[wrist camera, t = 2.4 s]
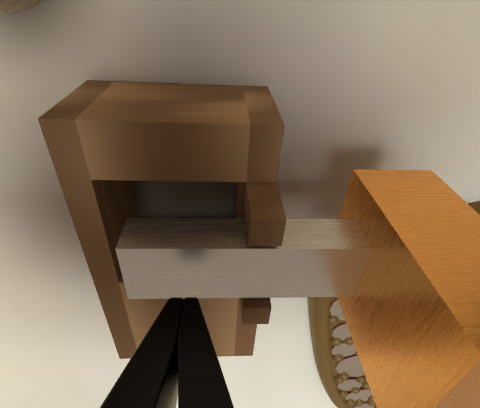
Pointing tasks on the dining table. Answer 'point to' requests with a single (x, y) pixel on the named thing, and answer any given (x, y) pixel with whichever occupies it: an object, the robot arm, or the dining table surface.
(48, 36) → the dining table surface
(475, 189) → the dining table surface
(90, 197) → the dock block
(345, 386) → the decorative heart
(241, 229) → the bar
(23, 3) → the peg
